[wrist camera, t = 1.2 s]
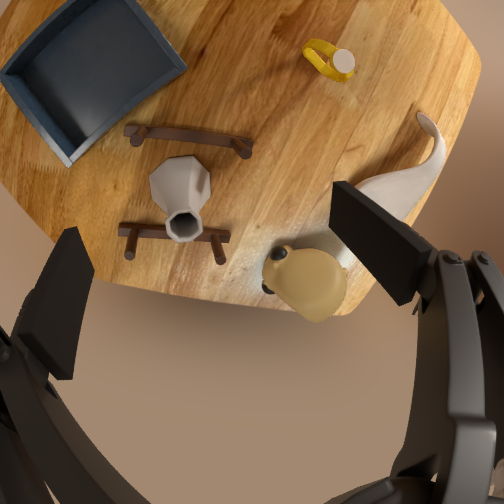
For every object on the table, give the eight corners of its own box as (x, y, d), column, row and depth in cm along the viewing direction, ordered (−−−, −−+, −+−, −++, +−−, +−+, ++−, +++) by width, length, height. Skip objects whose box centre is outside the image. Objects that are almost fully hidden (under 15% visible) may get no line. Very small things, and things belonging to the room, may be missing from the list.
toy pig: (294, 224, 42) (261, 240, 33) (363, 261, 38) (350, 290, 29) (273, 276, 47) (239, 302, 38) (335, 312, 42) (314, 349, 34)
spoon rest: (357, 248, 44) (381, 274, 38) (311, 218, 38) (337, 245, 32) (435, 141, 36) (467, 156, 30) (403, 92, 30) (440, 101, 24)
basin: (81, 156, 25) (68, 169, 21) (16, 74, 16) (-4, 75, 12) (186, 71, 23) (188, 68, 20) (117, -16, 14) (108, -30, 11)
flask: (197, 144, 28) (208, 170, 20) (220, 198, 33) (238, 242, 25) (138, 172, 28) (125, 210, 20) (165, 222, 32) (166, 273, 24)
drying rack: (119, 231, 31) (111, 259, 26) (126, 123, 25) (115, 132, 20) (227, 238, 36) (237, 265, 31) (251, 139, 29) (267, 151, 25)
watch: (290, 51, 24) (314, 47, 19) (304, 37, 23) (331, 30, 19) (325, 85, 27) (354, 88, 23) (338, 71, 26) (368, 72, 22)
